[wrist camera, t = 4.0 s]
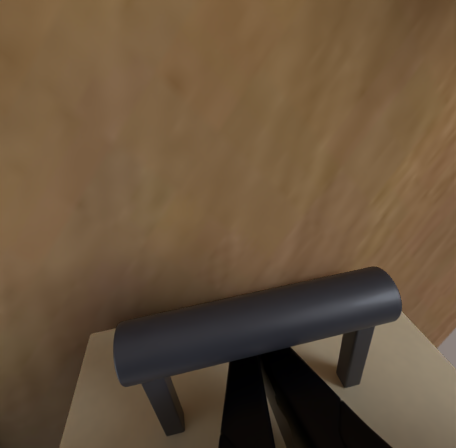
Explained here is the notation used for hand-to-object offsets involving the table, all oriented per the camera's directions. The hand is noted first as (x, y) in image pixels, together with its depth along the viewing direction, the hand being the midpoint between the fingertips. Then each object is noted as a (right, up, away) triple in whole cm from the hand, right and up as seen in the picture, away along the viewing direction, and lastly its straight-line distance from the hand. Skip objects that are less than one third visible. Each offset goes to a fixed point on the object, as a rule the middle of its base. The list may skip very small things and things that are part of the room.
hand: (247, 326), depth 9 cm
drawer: (0, -4, +7) cm, 8 cm away
